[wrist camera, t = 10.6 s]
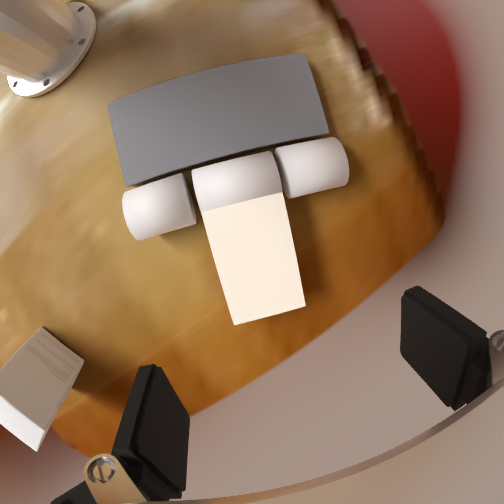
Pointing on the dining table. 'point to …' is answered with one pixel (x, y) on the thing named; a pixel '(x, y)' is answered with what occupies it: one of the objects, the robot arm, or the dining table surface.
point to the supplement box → (36, 386)
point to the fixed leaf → (221, 135)
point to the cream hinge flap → (250, 236)
